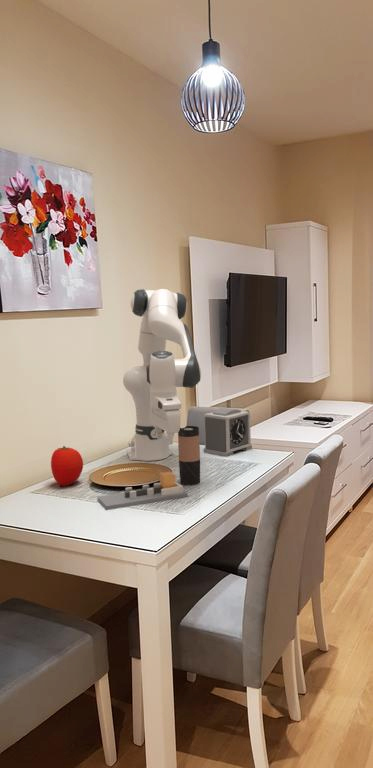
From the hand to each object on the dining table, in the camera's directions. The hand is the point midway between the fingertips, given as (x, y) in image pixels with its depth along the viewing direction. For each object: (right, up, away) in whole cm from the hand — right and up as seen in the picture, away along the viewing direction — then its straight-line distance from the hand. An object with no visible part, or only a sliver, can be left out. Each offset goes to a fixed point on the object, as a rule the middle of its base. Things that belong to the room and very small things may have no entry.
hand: (164, 441), depth 209 cm
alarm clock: (+25, -10, +61) cm, 66 cm away
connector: (-5, -18, 0) cm, 18 cm away
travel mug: (+9, -16, +15) cm, 24 cm away
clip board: (-7, -19, -1) cm, 20 cm away
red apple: (-36, -18, +19) cm, 44 cm away
